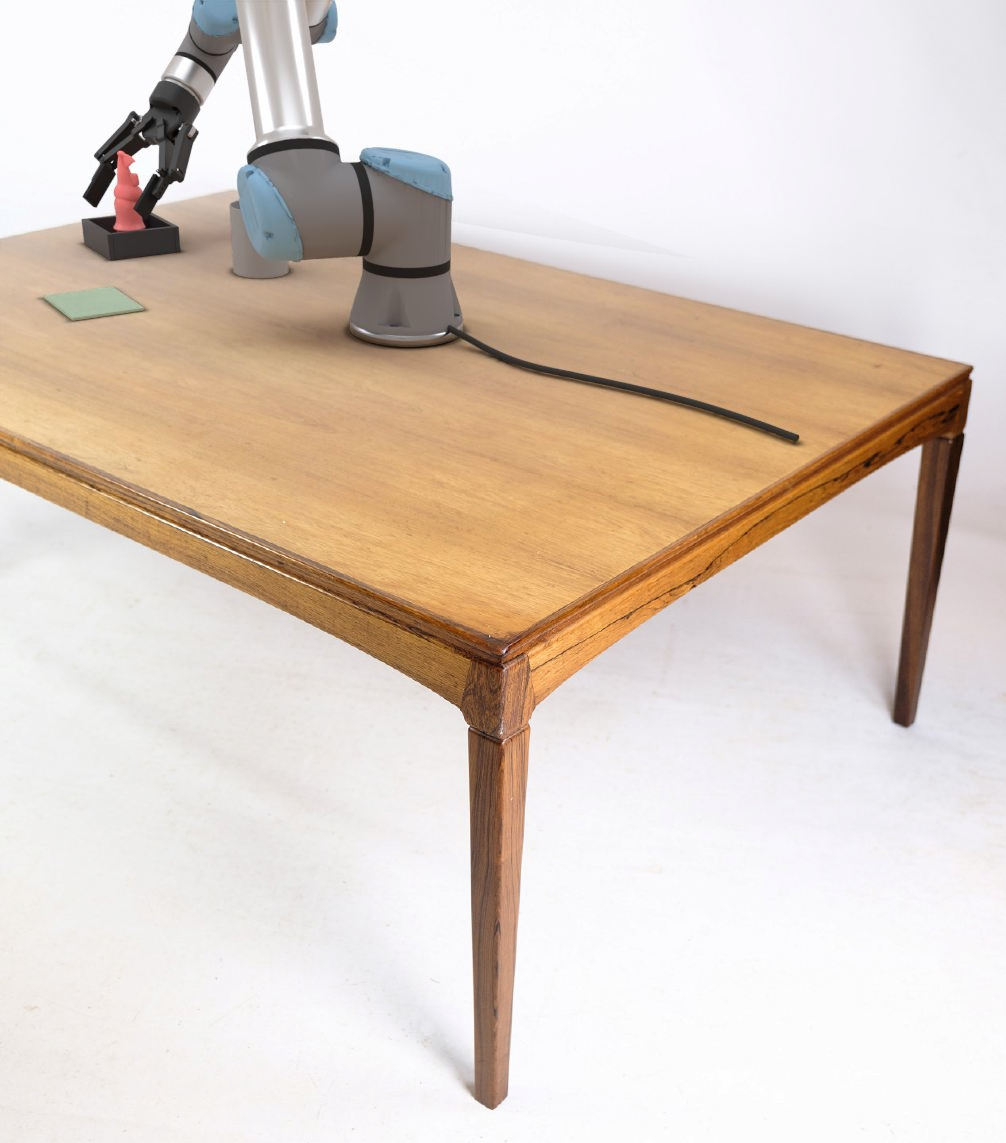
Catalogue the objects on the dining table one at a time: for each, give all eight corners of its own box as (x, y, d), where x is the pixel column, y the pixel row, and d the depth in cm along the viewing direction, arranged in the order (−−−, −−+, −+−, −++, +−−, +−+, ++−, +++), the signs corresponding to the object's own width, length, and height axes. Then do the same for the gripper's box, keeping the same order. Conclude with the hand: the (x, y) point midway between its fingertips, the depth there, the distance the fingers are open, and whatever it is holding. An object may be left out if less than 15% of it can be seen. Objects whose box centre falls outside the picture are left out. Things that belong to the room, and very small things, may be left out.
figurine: (155, 247, 208) (146, 151, 201) (131, 253, 204) (122, 155, 197) (132, 242, 210) (123, 146, 203) (108, 248, 207) (98, 151, 200)
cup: (294, 265, 201) (292, 200, 197) (281, 279, 194) (278, 212, 189) (241, 262, 202) (237, 197, 197) (226, 276, 195) (222, 209, 190)
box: (180, 251, 206) (178, 226, 204) (110, 260, 200) (107, 234, 198) (153, 236, 214) (150, 211, 213) (84, 243, 208) (81, 218, 207)
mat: (144, 310, 178) (144, 307, 178) (72, 321, 173) (72, 318, 173) (112, 289, 187) (112, 286, 186) (43, 298, 181) (43, 295, 181)
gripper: (246, 118, 204) (180, 234, 200) (144, 101, 215) (80, 210, 211) (219, 86, 197) (151, 205, 193) (116, 70, 209) (49, 182, 205)
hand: (114, 208), depth 202 cm, fingers open, 11 cm apart
